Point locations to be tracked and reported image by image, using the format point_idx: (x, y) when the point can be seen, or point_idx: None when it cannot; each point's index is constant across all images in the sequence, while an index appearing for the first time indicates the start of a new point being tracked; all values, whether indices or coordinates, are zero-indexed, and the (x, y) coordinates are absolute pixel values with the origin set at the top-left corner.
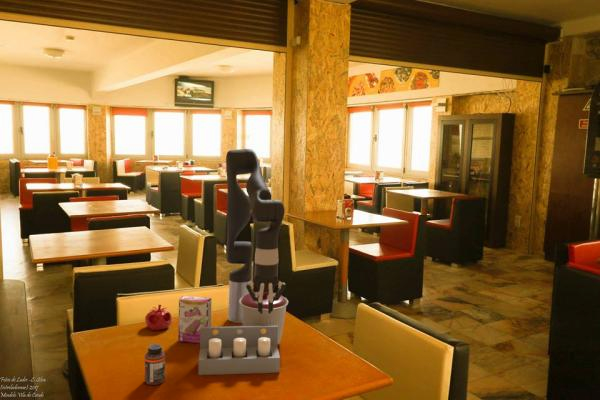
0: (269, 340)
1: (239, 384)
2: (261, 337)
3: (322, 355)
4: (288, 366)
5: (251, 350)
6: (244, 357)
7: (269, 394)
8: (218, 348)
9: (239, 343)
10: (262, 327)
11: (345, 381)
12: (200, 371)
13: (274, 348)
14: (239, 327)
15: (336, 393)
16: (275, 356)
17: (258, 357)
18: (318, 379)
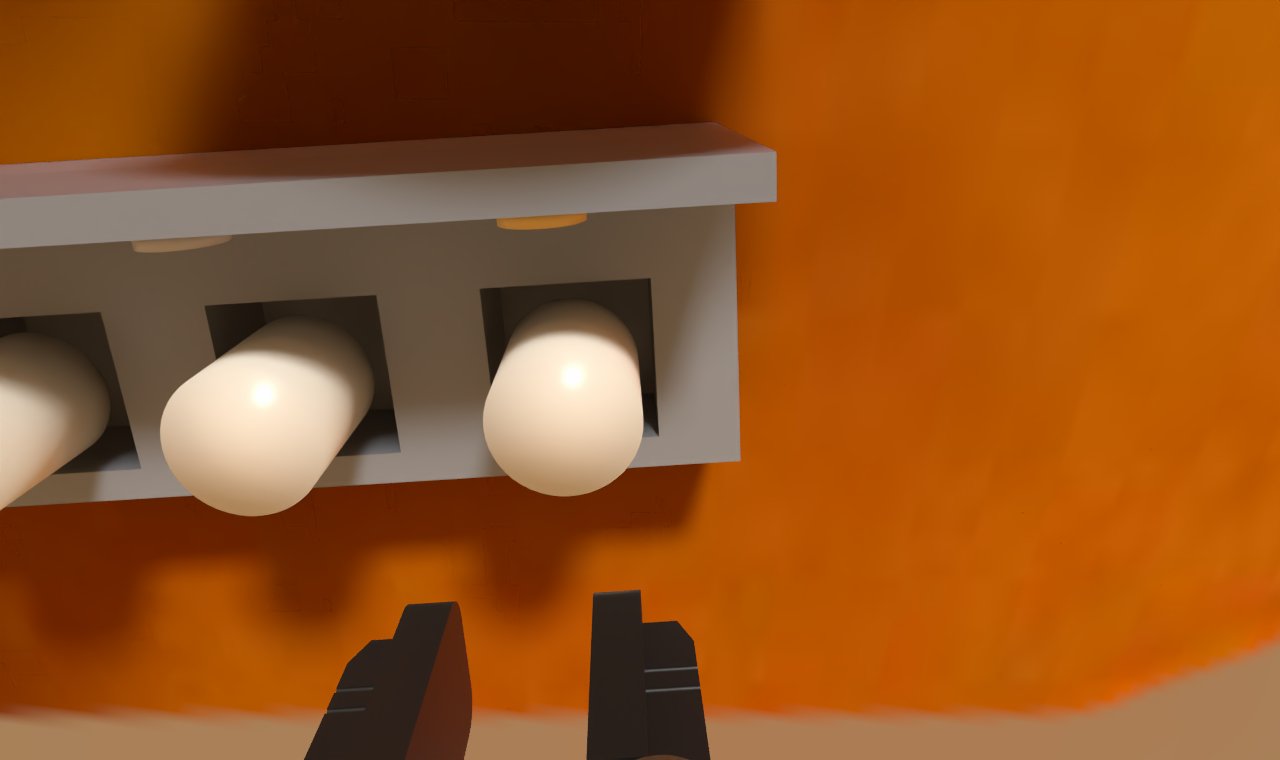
0: (630, 449)
1: (391, 591)
2: (523, 356)
3: (1217, 39)
4: (815, 291)
5: (427, 287)
6: (369, 454)
7: None
8: (32, 486)
9: (255, 512)
10: (522, 213)
11: (1238, 549)
12: None
13: (695, 234)
14: (144, 239)
15: (1105, 704)
16: (694, 433)
17: None
18: (1031, 519)
